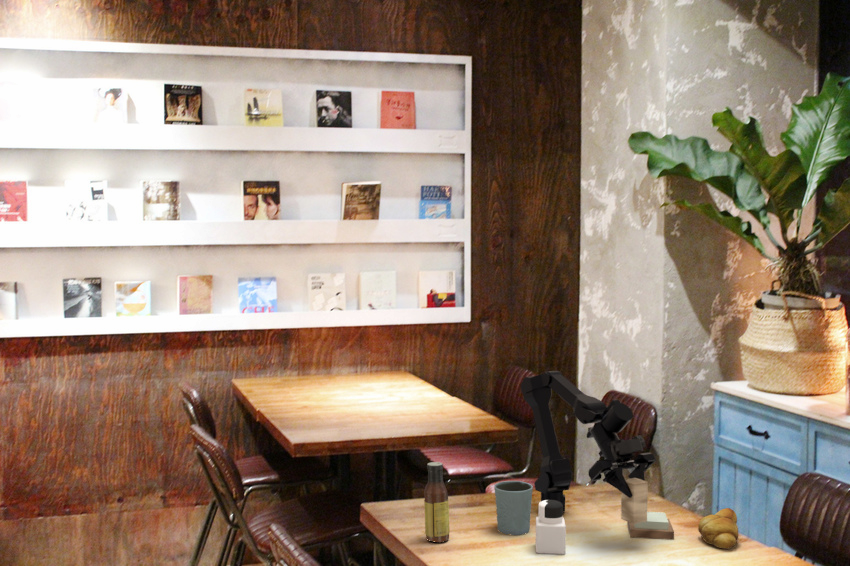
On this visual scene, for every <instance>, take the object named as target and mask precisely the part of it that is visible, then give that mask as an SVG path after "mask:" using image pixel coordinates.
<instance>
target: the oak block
mask: <svg viewBox="0 0 850 566" xmlns="http://www.w3.org/2000/svg"><path fill="white" fill-rule="evenodd" d="M625 480H626V482H627V484H628V486H629V488H630V490H631V493H632V495H633V496H632V497H631V498H629V497H628V496H626V495H625V494H623V493H622V492H621V497H620V498H621V500H620V501H621V504H620V506H621V507H620V512H621V513H620V519H621V520H622V521H624V522H626V523H627V522H630V523H632V524H636V523H641V522H646V521H647V512H648V495H649V494H648V492H649V491H648V489H649V485H648V484H649V481H647V480H645V481H644V480H641V479H638V478H630V479H629V478H625Z"/></svg>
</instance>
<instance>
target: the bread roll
mask: <svg viewBox="0 0 850 566" xmlns="http://www.w3.org/2000/svg"><path fill="white" fill-rule="evenodd" d="M737 522H738V517H737V514H736V512H735V511H734V510H733V509H732V508H730V507H727V508H722V509H720V510H719V511H717V512H716V513H715V514H709V515H706V516H704V517H702V518H701V519H700V521H699V523H698V527H697V530H698V532H699V533H700V535H701V537H702V539H703V540H704V541H705V542H706V543H707V544H709V545H714V546H715V547H716V548H719V549H732V548H734V547H735V545H736V543H737V541H738V539H739V527H738V524H737Z"/></svg>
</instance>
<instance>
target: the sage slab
mask: <svg viewBox="0 0 850 566" xmlns="http://www.w3.org/2000/svg"><path fill="white" fill-rule="evenodd" d="M668 519H669V518H668V517H667V515H666V513H665V512H662V511H660V512H659V511H647V521H646V522H641V523H636V524H634V526H635V528H639V529H658V530H669V522H668Z"/></svg>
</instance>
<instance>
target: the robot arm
mask: <svg viewBox="0 0 850 566" xmlns="http://www.w3.org/2000/svg"><path fill="white" fill-rule="evenodd" d="M520 391H521V393H522V397H523V399H524V401H525V402H526V403H527V404H528V406H529V407H530V408H531V410H532V415H533V418H534V423H535V428H536V432H537V436H538V441H539V445H540V449H541V453H542V459H541V463H540V467H539V470H540V475H539V476H538V478H537V479H536V480H535V481H534V488H535V491H537V492H538V493H540V502H541V501H544V500H556V501H559V502H561V503H562V504H563V512H565V511H566V495H565V494H564V491H569V489H570V487H571V483H572V480H573V469H572V467H571V460H570V459H569V457H567V458H565V456H563V455H562V454H561V451H560V446H559V442H558V437H557V434H556V431H555V426H554V421H553V417H552V413H551V408H550V402H551V399H552V395H553V394H552V391H553V392H555V393H556V394H557V395H558V396H559V398H561V399H562V400H563V401H565V402H566V403H567V404H568V405H569V406H571V408H572V411H573V414H574V416H575V418H576V419H577V420H578V421H579V422H580V423H581V424H583V425H588V424H589V425H590V424H594V425H593V426H591V427H588V428H587V433H586V438H587V439H592V438H593V439H594V441H595V443H596V445H597V446H598V448H599V452H598V455H599V457H604V459H599V460H596V461H595V463H593V465H592V466H591V467H590V468H589V469H588V477H589V479H590V481H591V482H594V481H595V482H596V481H600V480H601V479H602V474H603V476H604V478H603V479H602V481H603V482H604V483H607V484H609V485H611V486H612V487H613V488H615V489H616V490H618V491H619V492H621V494H622V493H623V494H625V495H626V496H628V497H629V498H631V497H632V496H633V495H632V493H631V490H630V488H629V486H628V484H627V482H626V480H625V479H626V478H625V476H624V470H628V472H629V474H628V475H627V477H628V479H630V478H638V479H641V480H644V481H646V479H645V472H646V471H648V470H649V468H650V467H651V466H652V465H653V464H654V463H655V462H657V460H656V458H655V456H654V454H653V453H651V452H644V453H639V454H638V455H637V456H636V457H635V455H636V454H635V453H637V452H642V451H644V449H643V448H646V442H645V441H646V440H645V439H644V438H643V436H642V435H641V434H640V435H636V436H633V437H632V439H626V440H625V439H623V438H622V439H620V438H619V436H618V433H621V432H622V431H623V430H624V429H625V427H626V426H627V425H628V424H629V423H630V422H631V421H632V419H633V417H634V412H633V410H632V408H630V407H629V406H628V405H626V404H625V403H622V402H621V401H620V399H612V400H611V401H610V403H609V404H608V406H607V405H606V404H605V402H604V401H602V400H600V399H599V398H597V397H594V396H590V395H587V394H585V393H584V392H582V390H581V389H579V387H577V386H576V385H574V384H573V383H572V382H571V381H570V380H568V378H567V377H565V376H564V375H563V373H562V372H561V371H559V370H551V371H549V370H547V371H545V372H542V373H540V374H537V375H534V376H526V377H524V378H523V379H522V381H521V383H520ZM634 457H635V458H634ZM631 458H634V459H631Z"/></svg>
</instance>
